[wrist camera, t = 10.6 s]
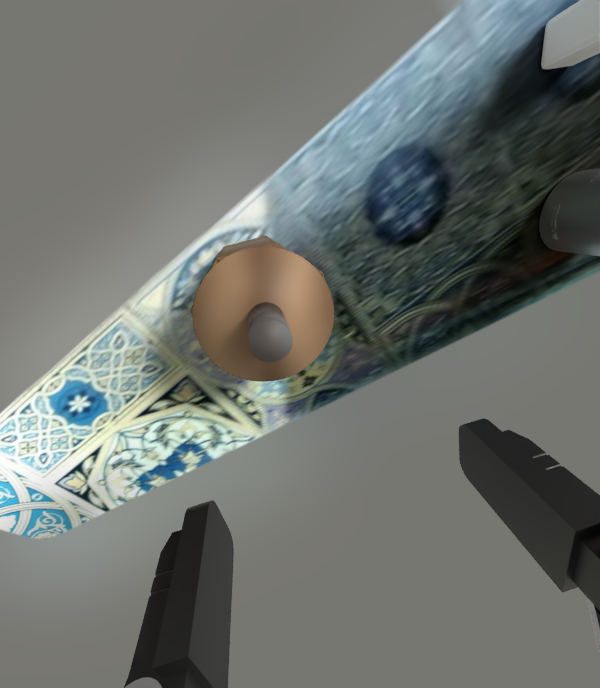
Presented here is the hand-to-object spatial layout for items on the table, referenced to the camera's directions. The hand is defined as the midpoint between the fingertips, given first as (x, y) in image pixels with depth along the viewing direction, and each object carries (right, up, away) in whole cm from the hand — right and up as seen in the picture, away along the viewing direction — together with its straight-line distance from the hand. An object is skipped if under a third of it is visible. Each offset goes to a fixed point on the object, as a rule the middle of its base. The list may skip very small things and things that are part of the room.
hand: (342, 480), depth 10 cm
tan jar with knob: (-6, +10, +26) cm, 28 cm away
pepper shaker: (+25, +35, +21) cm, 48 cm away
